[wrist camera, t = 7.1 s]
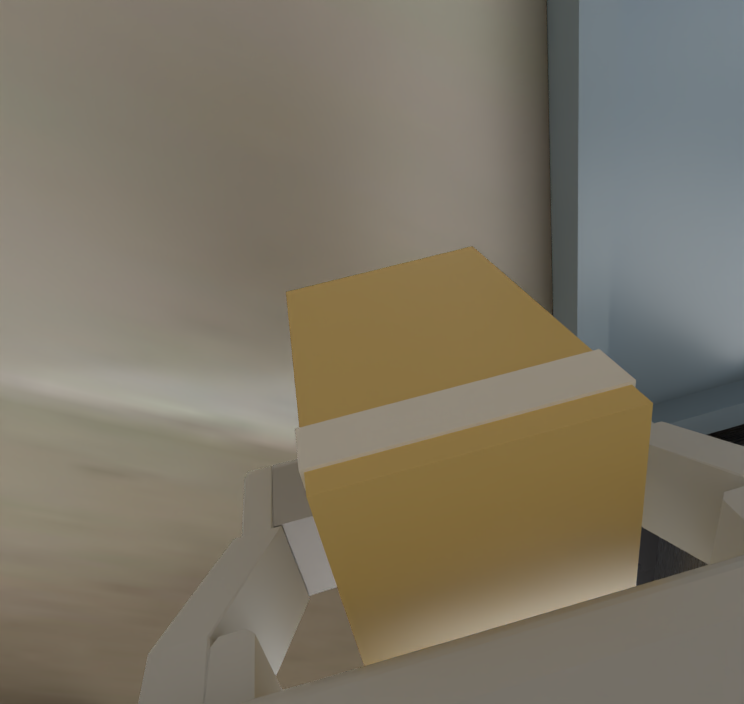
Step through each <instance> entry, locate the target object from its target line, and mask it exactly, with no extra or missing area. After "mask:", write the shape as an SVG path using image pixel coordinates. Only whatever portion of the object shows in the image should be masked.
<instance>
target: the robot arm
mask: <svg viewBox="0 0 744 704" xmlns="http://www.w3.org/2000/svg"><path fill="white" fill-rule="evenodd" d="M642 527H643V528H645V529H647V530H648V531H650V532H652V533H654V534H655V535H657V536H659V537H661V538H662V539H664V540H666V541H668V542H669V543H671V544H673V545H675V546H677V547H678V548H680V549H682V550H684V551H685V552H687V553H689V554H691V555H692V556H694V557H696V558H698V559H699V560H701V561H703V562H705V563H707V564H708V565H706V566H703V567H699V568H696V569H692V570H689V571H686V572H682V573H679V574H675V575H672V576H669V577H665V578H662V579H659V580H655V581H652V582H648V583H645V584H642V585H638V586H635V587H631V588H628V589H625V590H621V591H618V592H614V593H611V594H608V595H604V596H601V597H598V598H594V599H591V600H587V601H584V602H581V603H577V604H574V605H570V606H567V607H564V608H560V609H557V610H553V611H550V612H547V613H543V614H540V615H536V616H533V617H530V618H526V619H523V620H519V621H516V622H513V623H509V624H506V625H502V626H499V627H496V628H492V629H489V630H485V631H482V632H479V633H475V634H472V635H468V636H465V637H462V638H458V639H455V640H451V641H448V642H445V643H441V644H438V645H434V646H431V647H428V648H424V649H421V650H417V651H414V652H411V653H407V654H404V655H400V656H397V657H394V658H390V659H387V660H384V661H380V662H377V663H373V664H370V665H367V666H363V667H360V668H356V669H353V670H350V671H346V672H343V673H339V674H336V675H333V676H329V677H326V678H322V679H319V680H316V681H312V682H309V683H305V684H302V685H299V686H295V687H292V688H289V689H285V690H282V688H281V686H280V684H279V682H278V680H277V678H276V675H277V673H278V670H279V668H280V666H281V663H282V661H283V659H284V657H285V654H286V652H287V650H288V647H289V645H290V643H291V640H292V638H293V636H294V634H295V631H296V629H297V627H298V624H299V622H300V620H301V617H302V615H303V613H304V611H305V608H306V606H307V604H308V601H309V599H310V598H309V596H310V595H313V594H316V593H320V592H323V591H326V590H329V589H332V588H335V587H337V585H336V582H335V579H334V576H333V573H332V570H331V567H330V565H329V562H328V559H327V556H326V553H325V550H324V547H323V544H322V541H321V538H320V535H319V532H318V530H317V527H316V524H315V521H314V518H313V515H312V512H311V509H310V506H309V503H308V500H307V497H306V491H305V488H304V485H303V482H302V479H301V476H300V473H299V470H298V459H296V460H292V461H288V462H283V463H279V464H275V465H273V466H268V467H264V468H260V469H256V470H253V471H249V472H247V474H246V476H245V480H244V500H243V520H242V537H239V538H235V539H233V541H232V542H231V543H230V545H229V546H228V547H227V549H226V550H225V551H224V553H223V554H222V556H221V557H220V558H219V560H218V561H217V562H216V564H215V565H214V566H213V568H212V569H211V570H210V572H209V573H208V574H207V576H206V577H205V578H204V580H203V581H202V582H201V584H200V585H199V586H198V588H197V589H196V590H195V592H194V593H193V594H192V596H191V597H190V599H189V600H188V601H187V603H186V604H185V605H184V607H183V608H182V609H181V611H180V612H179V613H178V615H177V616H176V617H175V619H174V620H173V621H172V623H171V624H170V625H169V627H168V628H167V629H166V631H165V632H164V633H163V635H162V636H161V637H160V639H159V640H158V642H157V643H156V644H155V646H154V647H153V648H152V650H151V651H150V652H149V654H148V658H147V663H146V668H145V673H144V678H143V683H142V688H141V693H140V698H139V702H138V704H744V446H741V445H738V444H734V443H731V442H728V441H725V440H721V439H718V438H715V437H711V436H708V435H705V434H701V433H698V432H695V431H692V430H688V429H685V428H682V427H678V426H675V425H672V424H669V423H665V422H662V421H661V422H657V423H653V422H652V421H651V431H650V442H649V453H648V463H647V474H646V485H645V495H644V506H643V517H642Z"/></svg>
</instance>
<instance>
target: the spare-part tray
mask: <svg viewBox="0 0 744 704" xmlns="http://www.w3.org/2000/svg"><path fill="white" fill-rule="evenodd" d="M547 33H548V83H549V133H550V183H551V233H552V282H553V317H555V318H556V319H557V320H558V321H559V322H560V323H561V324H563V325H564V326H565V327H566V328H567V329H568V330H570V331H571V332H572V333H573V334H574V335H575V336H576V337H578V338H579V339H580V340H581V341H582V342H583V343H585V344H586V345H587V346H588V347H589V348H590V349H591V350H597V349H600V350H601V351H602V352H603V353H605V354H606V355H607V356H608V357H609V358H611V359H612V360H613V361H614V362H615V363H617V364H618V365H619V366H620V367H621V368H622V369H624V370H625V371H626V372H627V373H628V374H630V375H631V376H632V377H633V378H634V379H635V380H636V389H638V390H639V391H640V392H641V393H642V394H643V395H645V396H646V397H647V398H648V399H649V400H650V401H651V402H653V410H652V420H651V421H652V422H653V423H657V422H661V421H662V422H665V423H669V424H672V425H675V426H678V427H682V428H685V429H688V430H692V431H695V432H698V433H701V434H705V435H707V434H710V433H714V432H717V431H721V430H724V429H728V428H731V427H735V426H738V425H742V424H744V0H547Z"/></svg>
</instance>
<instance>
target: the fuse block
mask: <svg viewBox="0 0 744 704" xmlns="http://www.w3.org/2000/svg"><path fill="white" fill-rule="evenodd" d="M286 297H287V307H288V317H289V327H290V337H291V347H292V357H293V367H294V378H295V388H296V398H297V408H298V418H299V428H296V429H295V435H296V447H297V458H298V470H299V473H300V476H301V479H302V482H303V485H304V488H305V491H306V497H307V500H308V503H309V506H310V509H311V512H312V515H313V518H314V521H315V524H316V527H317V530H318V532H319V535H320V538H321V541H322V544H323V547H324V550H325V553H326V556H327V559H328V562H329V565H330V567H331V570H332V573H333V576H334V579H335V582H336V585H337V588H338V591H339V594H340V597H341V600H342V603H343V605H344V608H345V611H346V614H347V617H348V620H349V623H350V626H351V629H352V632H353V635H354V638H355V640H356V643H357V646H358V649H359V652H360V655H361V658H362V661H363V664H364V666H367V665H370V664H373V663H377V662H380V661H384V660H387V659H390V658H394V657H397V656H400V655H404V654H407V653H411V652H414V651H417V650H421V649H424V648H428V647H431V646H434V645H438V644H441V643H445V642H448V641H451V640H455V639H458V638H462V637H465V636H468V635H472V634H475V633H479V632H482V631H485V630H489V629H492V628H496V627H499V626H502V625H506V624H509V623H513V622H516V621H519V620H523V619H526V618H530V617H533V616H536V615H540V614H543V613H547V612H550V611H553V610H557V609H560V608H564V607H567V606H570V605H574V604H577V603H581V602H584V601H587V600H591V599H594V598H598V597H601V596H604V595H608V594H611V593H614V592H618V591H621V590H625V589H628V588H631V587H635V586H636V581H637V570H638V560H639V549H640V538H641V528H642V517H643V506H644V495H645V485H646V474H647V463H648V453H649V442H650V431H651V420H652V410H653V402H651V401H650V400H649V399H648V398H647V397H646V396H645V395H643V394H642V393H641V392H640V391H639V390H638V389H636V380H635V379H634V378H633V377H632V376H631V375H630V374H628V373H627V372H626V371H625V370H624V369H622V368H621V367H620V366H619V365H618V364H617V363H615V362H614V361H613V360H612V359H611V358H609V357H608V356H607V355H606V354H605V353H603V352H602V351H601V350H600V349H597V350H591V349H590V348H589V347H588V346H587V345H586V344H585V343H583V342H582V341H581V340H580V339H579V338H578V337H576V336H575V335H574V334H573V333H572V332H571V331H570V330H568V329H567V328H566V327H565V326H564V325H563V324H561V323H560V322H559V321H558V320H557V319H556V318H555V317H553V316H552V315H551V314H550V313H549V312H548V311H546V310H545V309H544V308H543V307H542V306H541V305H540V304H538V303H537V302H536V301H535V300H534V299H533V298H531V297H530V296H529V295H528V294H527V293H526V292H525V291H523V290H522V289H521V288H520V287H519V286H518V285H516V284H515V283H514V282H513V281H512V280H511V279H510V278H508V277H507V276H506V275H505V274H504V273H503V272H501V271H500V270H499V269H498V268H497V267H496V266H495V265H493V264H492V263H491V262H490V261H489V260H488V259H486V258H485V257H484V256H483V255H482V254H481V253H480V252H478V251H477V250H476V249H475V248H474V247H473V246H471V247H467V248H463V249H459V250H455V251H451V252H447V253H443V254H439V255H435V256H430V257H426V258H422V259H418V260H414V261H410V262H406V263H402V264H398V265H394V266H390V267H386V268H382V269H377V270H373V271H369V272H365V273H361V274H357V275H353V276H349V277H345V278H341V279H337V280H333V281H329V282H325V283H320V284H316V285H312V286H308V287H304V288H300V289H296V290H292V291H288V292H286Z"/></svg>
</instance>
